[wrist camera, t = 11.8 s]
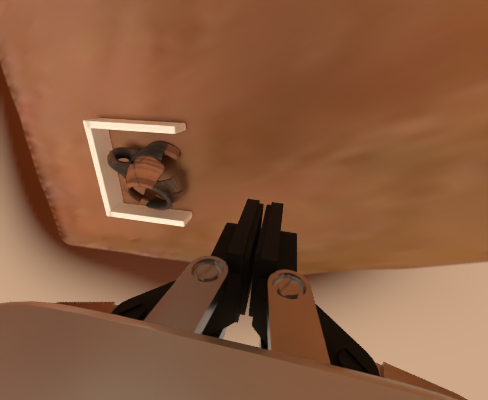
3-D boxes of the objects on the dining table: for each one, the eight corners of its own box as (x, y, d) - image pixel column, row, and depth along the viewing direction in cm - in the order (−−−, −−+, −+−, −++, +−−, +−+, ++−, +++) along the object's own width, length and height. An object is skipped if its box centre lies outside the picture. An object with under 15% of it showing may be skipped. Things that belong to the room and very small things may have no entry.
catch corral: (100, 118, 38) (83, 120, 35) (185, 123, 36) (174, 126, 32) (120, 207, 45) (106, 215, 42) (192, 216, 42) (184, 226, 39)
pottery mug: (199, 153, 38) (182, 195, 33) (186, 182, 45) (170, 220, 41) (122, 117, 35) (91, 159, 30) (121, 155, 42) (97, 193, 38)
